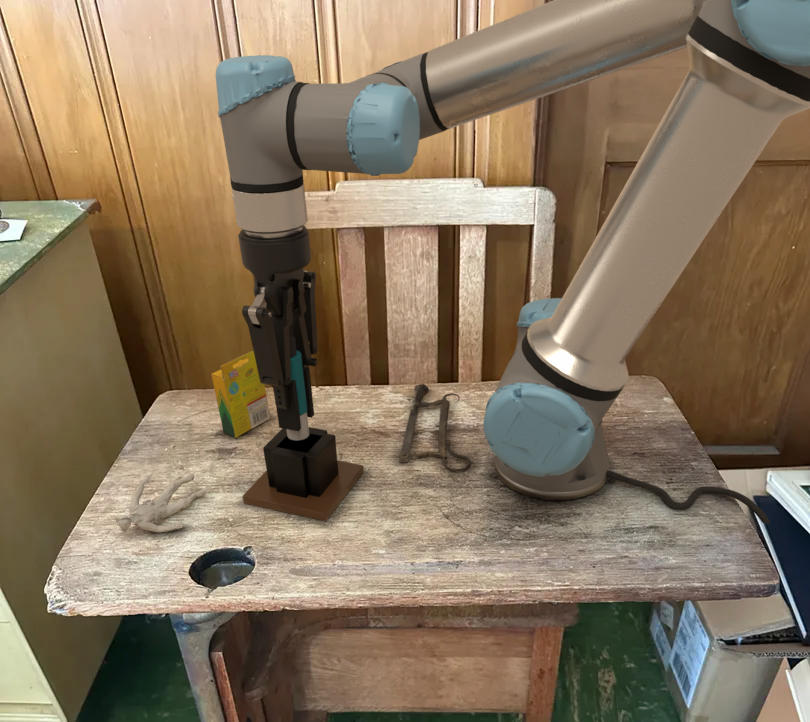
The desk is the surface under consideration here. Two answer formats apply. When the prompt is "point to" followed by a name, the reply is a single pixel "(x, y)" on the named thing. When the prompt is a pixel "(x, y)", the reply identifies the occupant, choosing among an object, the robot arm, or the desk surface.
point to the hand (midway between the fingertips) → (297, 420)
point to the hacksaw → (442, 453)
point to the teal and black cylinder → (298, 392)
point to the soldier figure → (156, 507)
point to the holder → (303, 476)
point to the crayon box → (240, 395)
